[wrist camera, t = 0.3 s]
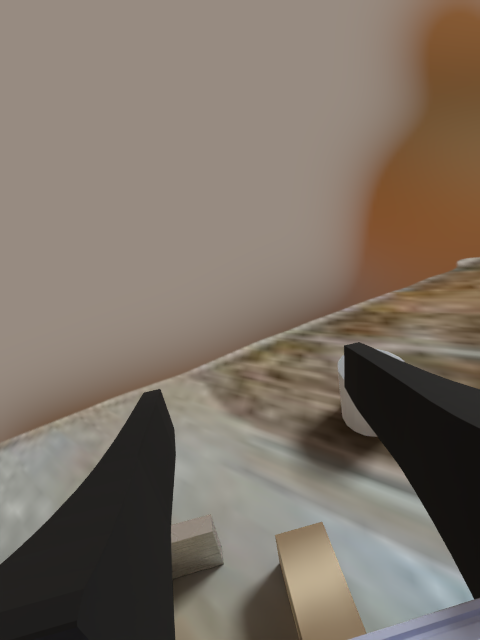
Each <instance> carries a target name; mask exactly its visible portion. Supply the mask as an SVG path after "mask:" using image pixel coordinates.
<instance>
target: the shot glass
mask: <svg viewBox="0 0 480 640" xmlns="http://www.w3.org/2000/svg"><path fill="white" fill-rule="evenodd" d="M376 350H378V351H381V352H383V353H385V354H387V355H389V356H392V357H394V358H396V359H398V360H401V361H403V360H402V359H401V358H400V357H398V356H396V355H394V354H392V353H390V352H387V351H383V350H379V349H376ZM403 362H404V361H403ZM338 376H339V387H340V397H341V408H342V418H343V419H344V421H345V423H346V425H347V426H349V427H350V428H351V429H352V430H353V431H355V432H357V433H360V434H362V435H365V436H373V437H378V436H377V435H376V434H375V433H374V431H373V430H372V429H371V427H370V426H369V425H368V423H367V422H366V421H365V419H364V418H363V417H362V415H361V414H360V413H359V411H358V410H357V408H356V407H355V405H354V403H353V402H352V400H351V398H350V396H349V394H348V393H347V391H346V389H345V387H344V355H343V356H342V357H341V359H340V360H339V362H338Z"/></svg>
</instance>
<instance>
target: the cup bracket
mask: <svg viewBox="0 0 480 640" xmlns="http://www.w3.org/2000/svg"><path fill="white" fill-rule="evenodd" d="M171 551H172V579H174V578H178V577H181V576H184V575H188V574H191V573H195V572H198V571H202V570H205V569H208V568H212V567H215V566H219V565H222V564H224V561H223V553H222V546H221V543H220V540H219V537H218V534H217V531H216V528H215V525H214V522H213V519H212V517H211V514H210V515H206V516H202V517H199V518H195V519H192V520H188V521H184V522H181V523H177V524H173V525H171Z"/></svg>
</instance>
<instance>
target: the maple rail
mask: <svg viewBox="0 0 480 640" xmlns="http://www.w3.org/2000/svg"><path fill="white" fill-rule="evenodd" d="M275 537H276V543H277V549H278V555H279V562H280V566H281V570H282V574H283V578H284V582H285V586H286V590H287V594H288V597H289V601H290V605H291V609H292V613H293V617H294V621H295V625H296V629H297V633H298V637H299V640H348V639H352V638H355V637H358V636H361V635H364V634H367V633H366V631H365V628H364V626H363V623H362V621H361V618H360V616H359V613H358V611H357V608H356V606H355V603H354V601H353V598H352V596H351V593H350V591H349V588H348V586H347V583H346V580H345V578H344V575H343V573H342V570H341V568H340V565H339V563H338V560H337V558H336V555H335V553H334V550H333V548H332V545H331V543H330V540H329V538H328V535H327V533H326V530H325V528H324V525H323V523H322V522H320V523H316V524H313V525H309V526H306V527H302V528H299V529H295V530H292V531H288V532H284V533H281V534H277V535H275Z"/></svg>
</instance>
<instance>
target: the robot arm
mask: <svg viewBox="0 0 480 640" xmlns="http://www.w3.org/2000/svg"><path fill="white" fill-rule="evenodd" d="M344 387H345V389H346V391H347V393H348V394H349V396H350V398H351V400H352V402H353V403H354V405H355V407H356V408H357V410H358V411H359V413H360V414H361V415H362V417H363V418H364V419H365V421H366V422H367V423H368V425H369V426H370V427H371V429H372V430H373V431H374V433H375V434H376V435H377V436H378V438H379V439H380V440H381V442H382V443H383V444H384V446H385V447H386V448H387V450H388V451H389V452H390V454H391V455H392V456H393V458H394V459H395V460H396V462H397V463H398V465H399V466H400V468H401V469H402V471H403V472H404V474H405V476H406V477H407V479H408V481H409V482H410V484H411V485H412V487H413V489H414V490H415V492H416V494H417V495H418V497H419V499H420V500H421V502H422V504H423V505H424V507H425V509H426V511H427V512H428V514H429V516H430V517H431V519H432V521H433V523H434V524H435V526H436V528H437V530H438V532H439V533H440V535H441V537H442V539H443V541H444V542H445V544H446V546H447V548H448V550H449V552H450V553H451V555H452V557H453V559H454V561H455V563H456V565H457V567H458V569H459V571H460V572H461V574H462V576H463V578H464V580H465V582H466V584H467V586H468V588H469V590H470V592H471V594H472V596H473V598H474V600H471V601H468V602H465V603H462V604H459V605H456V606H453V607H449V608H446V609H443V610H440V611H437V612H434V613H430V614H427V615H424V616H421V617H418V618H415V619H412V620H408V621H405V622H402V623H399V624H396V625H393V626H389V627H386V628H383V629H380V630H377V631H374V632H371V633H367V634H364V635H361V636H358V637H355V638H352V639H348V640H480V389H476V388H473V387H470V386H467V385H464V384H460V383H457V382H454V381H451V380H448V379H445V378H443V377H440V376H437V375H435V374H432V373H429V372H427V371H424V370H422V369H419V368H417V367H414V366H412V365H410V364H407V363H405V362H403V361H401V360H398V359H396V358H394V357H392V356H389V355H387V354H385V353H383V352H381V351H378V350H376V349H374V348H372V347H370V346H367V345H365V344H362V343H360V342H358V343H353V344H349V345H345V346H344ZM175 457H176V451H175V433H174V427H173V424H172V421H171V418H170V415H169V412H168V410H167V407H166V404H165V401H164V398H163V395H162V392H161V390H160V389H158V390H153V391H149V392H145V393H143V395H142V396H141V398H140V400H139V401H138V403H137V405H136V406H135V408H134V410H133V411H132V413H131V415H130V416H129V418H128V420H127V421H126V423H125V425H124V426H123V428H122V429H121V431H120V432H119V434H118V436H117V437H116V439H115V440H114V442H113V443H112V444H111V446H110V447H109V449H108V450H107V452H106V453H105V454H104V456H103V457H102V459H101V460H100V461H99V463H98V464H97V465H96V467H95V468H94V469H93V471H92V472H91V473H90V474H89V476H88V477H87V478H86V479H85V480H84V482H83V483H82V484H81V485H80V486H79V487H78V489H77V490H76V491H75V492H74V493H73V494H72V495H71V496H70V497H69V498H68V500H67V501H66V502H65V503H64V504H63V505H62V506H61V507H60V508H59V509H58V510H57V511H56V512H55V513H54V514H53V516H52V517H51V518H50V519H49V520H48V521H47V522H46V523H45V524H44V525H43V526H42V527H41V528H40V529H39V530H37V531H36V532H35V533H34V534H33V535H32V536H31V537H30V538H29V539H28V540H27V541H26V542H25V543H24V544H23V545H22V546H21V547H19V548H18V549H17V550H16V551H15V552H14V553H13V554H12V555H11V556H10V557H8V558H7V559H6V560H5V561H4V562H3V563H2V564H0V640H175V625H174V605H173V582H172V551H171V516H172V501H173V487H174V473H175Z"/></svg>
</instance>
